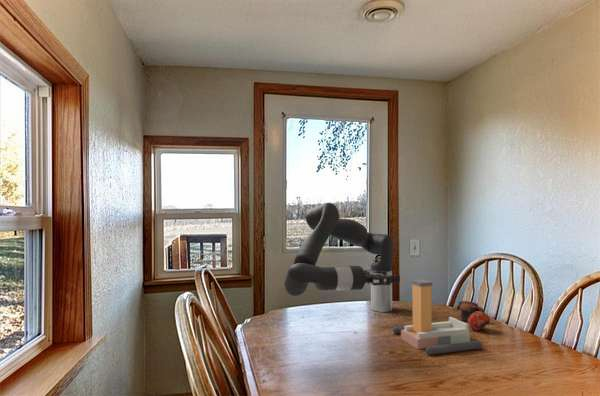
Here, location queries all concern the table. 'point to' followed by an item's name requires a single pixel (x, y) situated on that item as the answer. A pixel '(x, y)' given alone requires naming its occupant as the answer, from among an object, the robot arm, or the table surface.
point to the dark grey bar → (453, 347)
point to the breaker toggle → (422, 305)
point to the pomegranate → (478, 320)
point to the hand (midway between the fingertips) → (392, 276)
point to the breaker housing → (437, 334)
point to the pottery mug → (467, 309)
